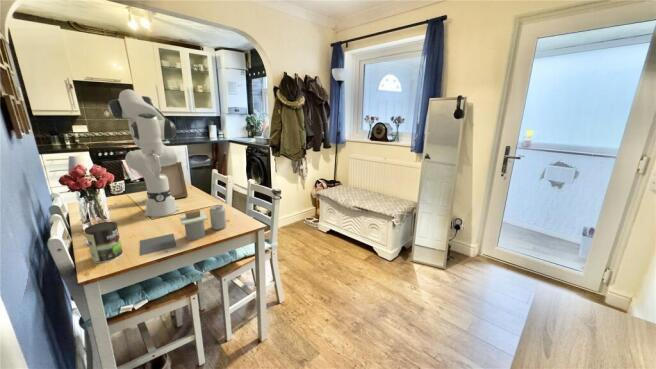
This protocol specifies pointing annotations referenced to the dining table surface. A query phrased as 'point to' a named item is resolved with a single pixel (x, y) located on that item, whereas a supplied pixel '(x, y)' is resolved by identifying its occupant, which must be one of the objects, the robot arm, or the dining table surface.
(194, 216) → the lid
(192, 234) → the cup
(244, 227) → the dining table surface
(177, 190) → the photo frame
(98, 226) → the coffee can
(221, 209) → the can
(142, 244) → the mat
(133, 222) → the dining table surface
